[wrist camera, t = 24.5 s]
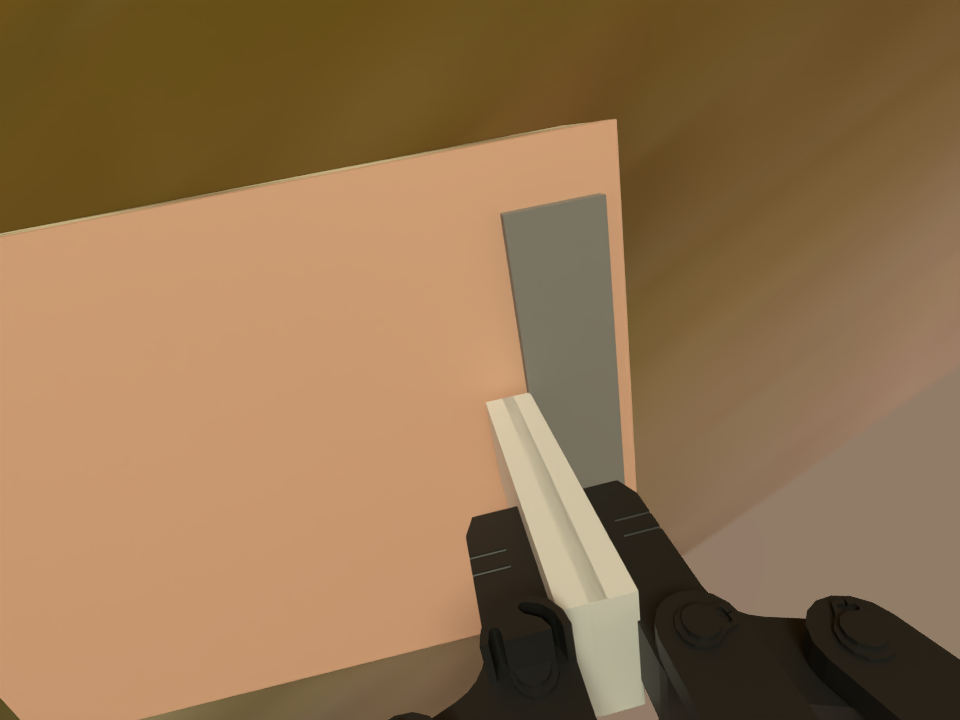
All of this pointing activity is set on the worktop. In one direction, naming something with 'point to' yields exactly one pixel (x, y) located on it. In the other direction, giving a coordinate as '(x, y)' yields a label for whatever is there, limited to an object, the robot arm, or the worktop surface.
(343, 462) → the lid
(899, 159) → the worktop surface
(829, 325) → the worktop surface
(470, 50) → the worktop surface
